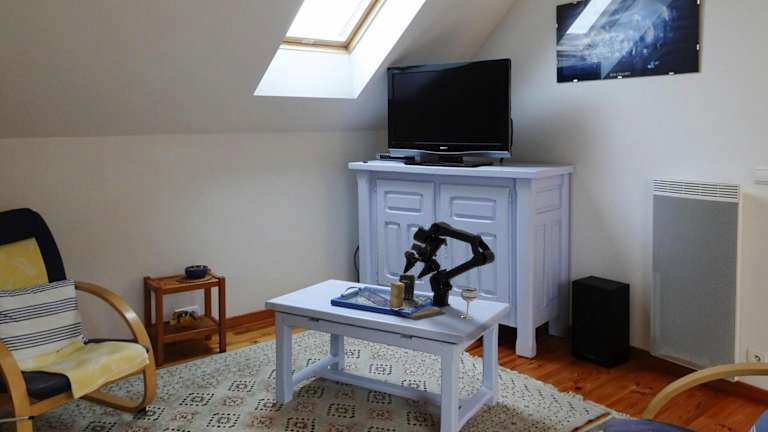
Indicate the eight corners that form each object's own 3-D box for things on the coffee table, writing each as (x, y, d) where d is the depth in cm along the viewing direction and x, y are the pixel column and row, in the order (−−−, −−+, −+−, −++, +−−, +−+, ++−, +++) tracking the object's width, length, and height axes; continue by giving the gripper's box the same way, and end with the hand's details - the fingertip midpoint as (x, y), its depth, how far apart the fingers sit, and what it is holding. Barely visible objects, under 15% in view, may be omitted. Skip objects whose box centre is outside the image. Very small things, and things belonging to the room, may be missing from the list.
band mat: (427, 306, 289) (427, 303, 289) (445, 313, 281) (445, 310, 280) (397, 312, 278) (397, 308, 278) (414, 320, 270) (414, 316, 270)
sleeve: (396, 306, 286) (398, 281, 284) (402, 309, 283) (404, 284, 281) (389, 308, 284) (391, 282, 282) (395, 310, 281) (397, 285, 279)
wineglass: (464, 313, 282) (466, 286, 280) (478, 317, 278) (480, 289, 276) (455, 316, 277) (457, 288, 275) (469, 321, 273) (472, 292, 271)
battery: (396, 298, 298) (398, 273, 296) (399, 296, 301) (401, 271, 299) (411, 301, 295) (413, 276, 294) (414, 299, 299) (416, 274, 297)
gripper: (408, 232, 293) (387, 259, 288) (437, 240, 279) (415, 269, 274) (420, 248, 299) (400, 275, 294) (449, 257, 285) (428, 285, 280)
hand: (410, 275), depth 285 cm, fingers open, 9 cm apart
